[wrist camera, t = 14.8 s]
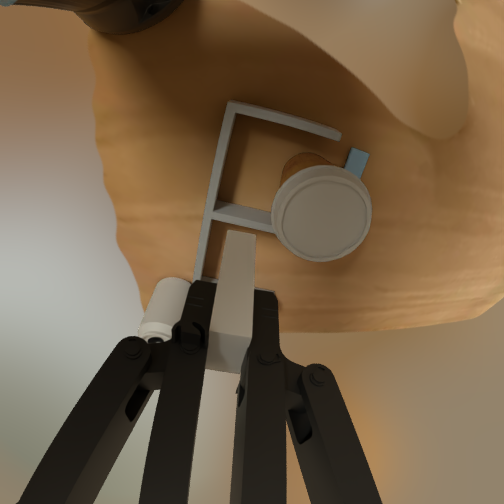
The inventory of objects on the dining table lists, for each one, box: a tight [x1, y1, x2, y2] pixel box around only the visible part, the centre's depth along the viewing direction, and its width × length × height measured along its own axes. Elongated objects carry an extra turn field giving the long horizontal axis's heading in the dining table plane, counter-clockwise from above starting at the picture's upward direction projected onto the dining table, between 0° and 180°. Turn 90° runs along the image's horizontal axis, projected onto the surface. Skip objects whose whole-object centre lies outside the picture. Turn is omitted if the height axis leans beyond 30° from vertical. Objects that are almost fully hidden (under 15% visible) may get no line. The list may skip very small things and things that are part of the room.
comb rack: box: [193, 100, 342, 293], centre depth 36 cm, size 27×12×4 cm, turn 166°
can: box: [138, 277, 191, 343], centre depth 41 cm, size 8×8×12 cm
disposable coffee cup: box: [271, 153, 372, 262], centre depth 29 cm, size 10×10×12 cm
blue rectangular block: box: [344, 147, 370, 179], centre depth 34 cm, size 11×2×1 cm, turn 166°
